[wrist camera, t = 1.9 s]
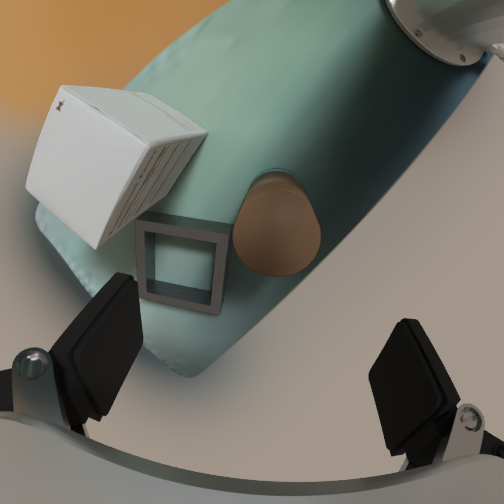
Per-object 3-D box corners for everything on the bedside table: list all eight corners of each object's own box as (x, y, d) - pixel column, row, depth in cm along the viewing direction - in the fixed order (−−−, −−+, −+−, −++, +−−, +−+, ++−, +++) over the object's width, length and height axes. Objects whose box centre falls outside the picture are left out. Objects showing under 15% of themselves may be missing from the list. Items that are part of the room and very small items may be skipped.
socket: (233, 224, 26) (229, 234, 24) (223, 301, 30) (219, 315, 28) (146, 211, 26) (134, 219, 24) (147, 285, 30) (139, 297, 28)
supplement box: (113, 155, 24) (21, 187, 12) (151, 92, 21) (59, 80, 10) (168, 196, 25) (94, 255, 14) (212, 133, 22) (151, 142, 11)
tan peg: (309, 174, 23) (330, 205, 14) (298, 225, 26) (309, 282, 17) (253, 163, 23) (239, 188, 14) (245, 216, 26) (227, 269, 17)
